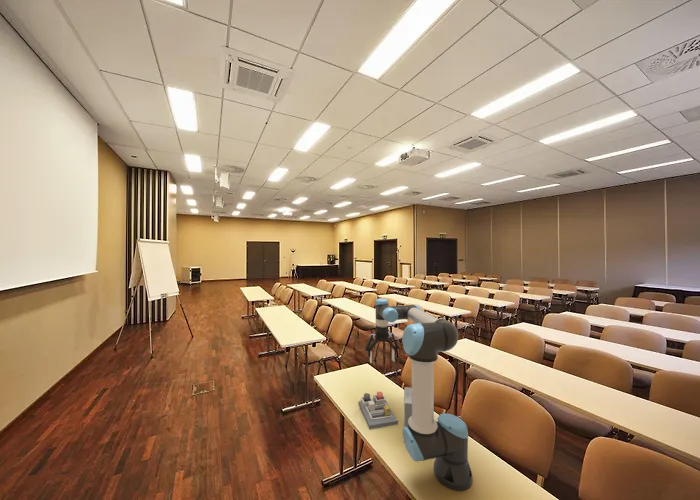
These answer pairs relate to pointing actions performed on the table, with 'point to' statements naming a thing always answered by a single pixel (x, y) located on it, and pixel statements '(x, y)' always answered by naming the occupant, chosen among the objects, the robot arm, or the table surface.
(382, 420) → the panel
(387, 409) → the slider brass
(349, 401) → the table surface
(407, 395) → the hard drive box
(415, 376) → the robot arm
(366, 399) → the button black
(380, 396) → the button red
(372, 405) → the slider white
